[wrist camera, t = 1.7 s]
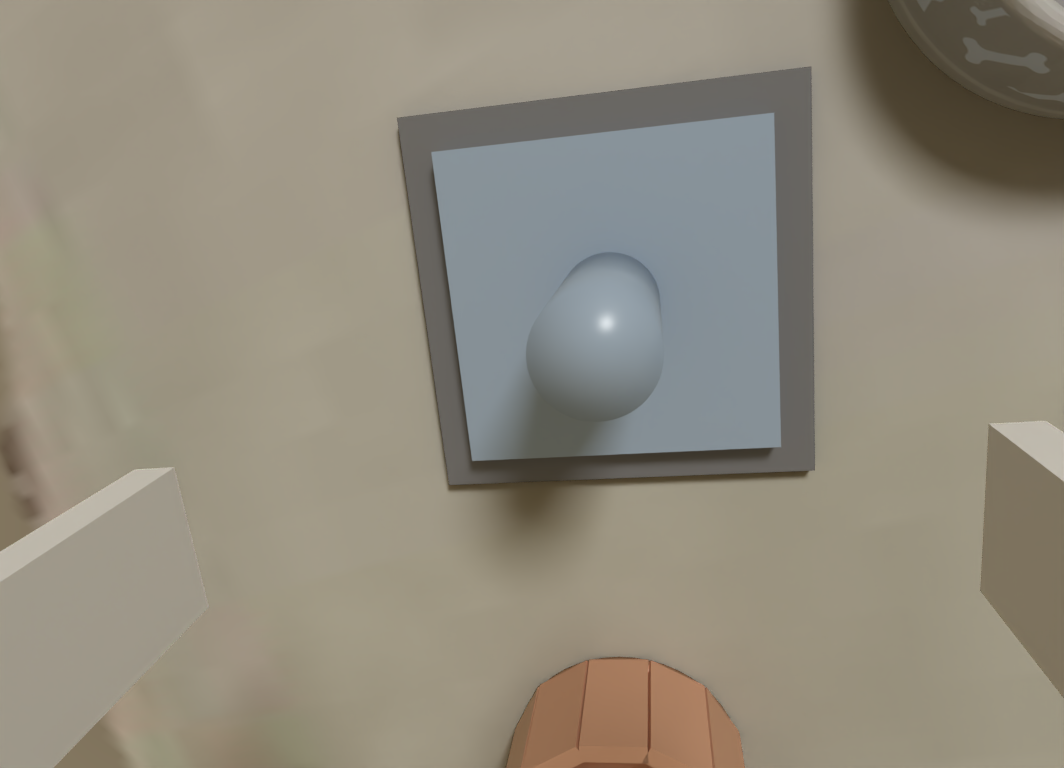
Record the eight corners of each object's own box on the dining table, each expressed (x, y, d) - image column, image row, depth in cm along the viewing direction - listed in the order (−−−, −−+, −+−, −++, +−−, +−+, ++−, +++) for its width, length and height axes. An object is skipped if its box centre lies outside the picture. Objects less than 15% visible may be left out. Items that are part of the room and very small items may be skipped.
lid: (770, 114, 29) (827, 91, 20) (777, 438, 33) (829, 553, 23) (437, 152, 31) (345, 149, 22) (476, 452, 35) (411, 562, 25)
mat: (808, 68, 29) (811, 66, 29) (811, 465, 33) (814, 470, 33) (401, 118, 32) (397, 117, 31) (452, 479, 36) (449, 484, 35)
